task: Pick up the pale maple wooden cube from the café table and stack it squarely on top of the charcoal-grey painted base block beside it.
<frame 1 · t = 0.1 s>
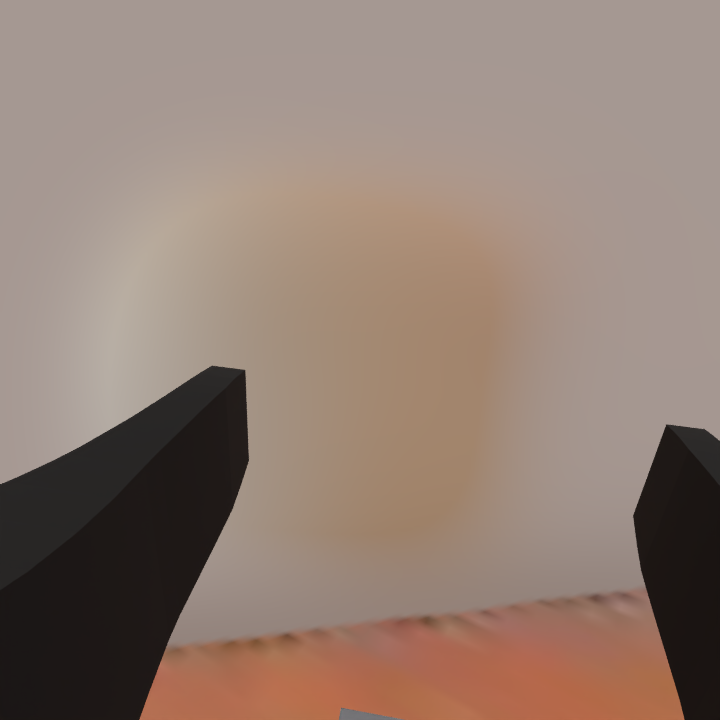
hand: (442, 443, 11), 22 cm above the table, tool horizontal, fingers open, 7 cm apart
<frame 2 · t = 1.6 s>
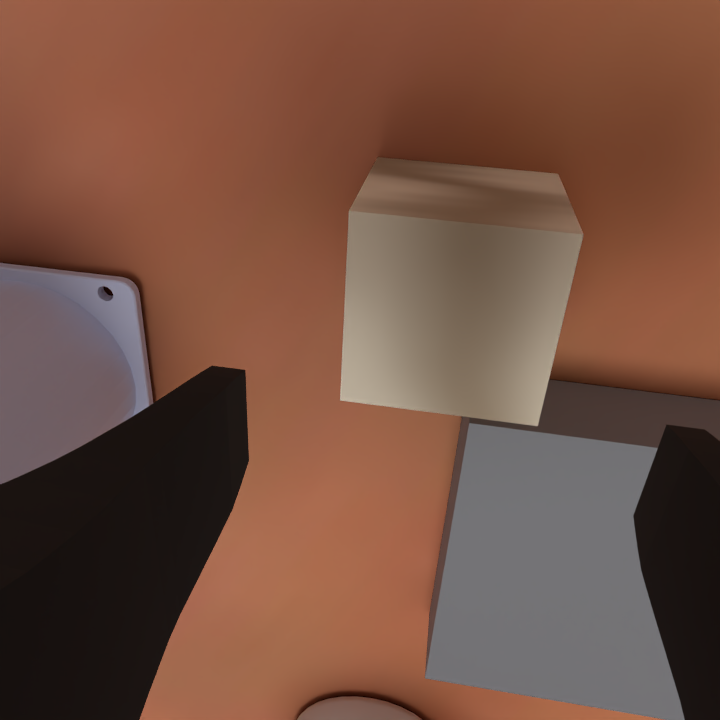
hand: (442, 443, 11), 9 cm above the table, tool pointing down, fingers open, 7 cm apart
maple cube: (455, 249, 20), on the table
grey base: (612, 530, 24), on the table
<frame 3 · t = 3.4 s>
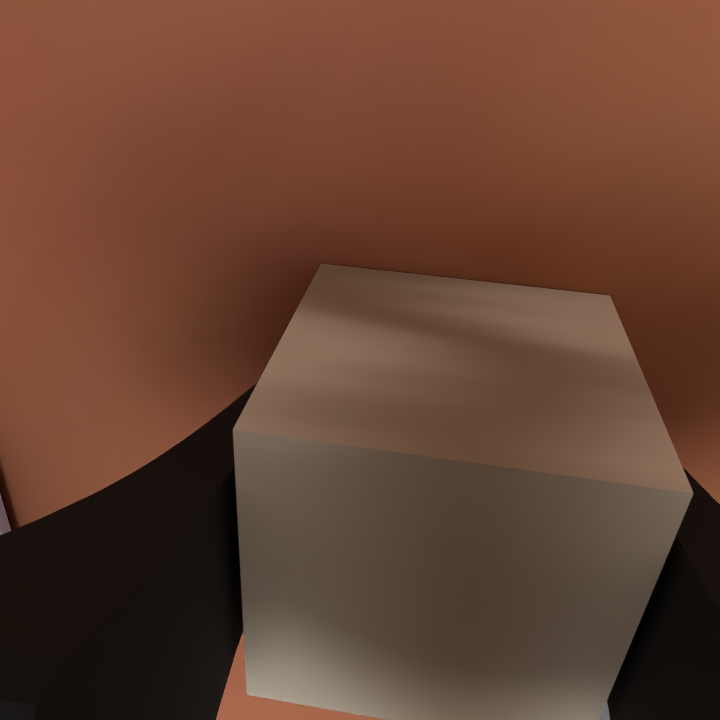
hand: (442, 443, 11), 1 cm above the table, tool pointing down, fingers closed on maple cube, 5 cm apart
maple cube: (444, 398, 13), on the table, touching gripper
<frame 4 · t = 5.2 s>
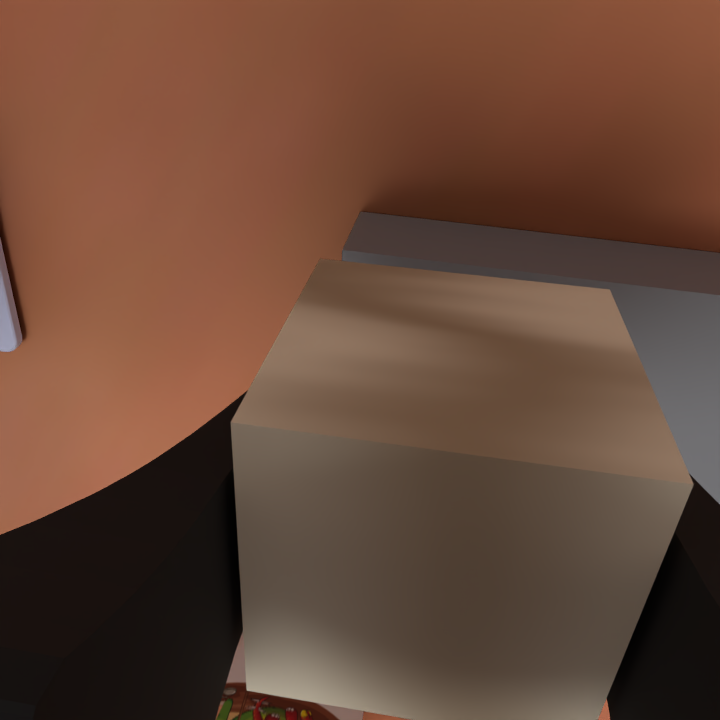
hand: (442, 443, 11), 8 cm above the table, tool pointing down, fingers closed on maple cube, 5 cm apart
maple cube: (444, 393, 13), point 7 cm above the table, touching gripper
milk bottle: (283, 673, 30), on the table
grey base: (533, 416, 21), on the table
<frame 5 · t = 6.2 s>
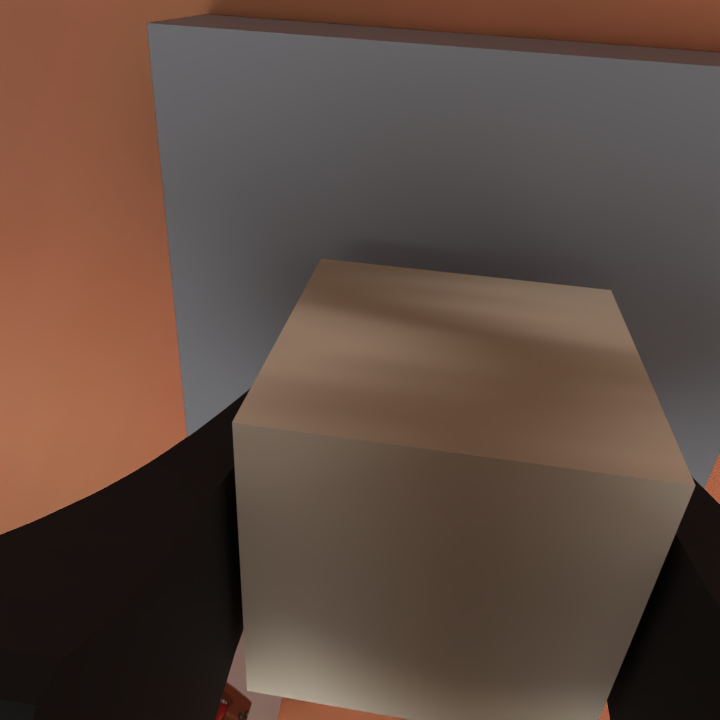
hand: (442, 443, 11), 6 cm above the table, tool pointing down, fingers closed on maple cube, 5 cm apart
maple cube: (445, 394, 13), point 4 cm above the table, touching gripper
milk bottle: (194, 644, 26), on the table
grey base: (451, 300, 17), on the table
when the fingers open (6 cm above the table, at t = 7.1 s): maple cube drops 1 cm, resting on grey base.
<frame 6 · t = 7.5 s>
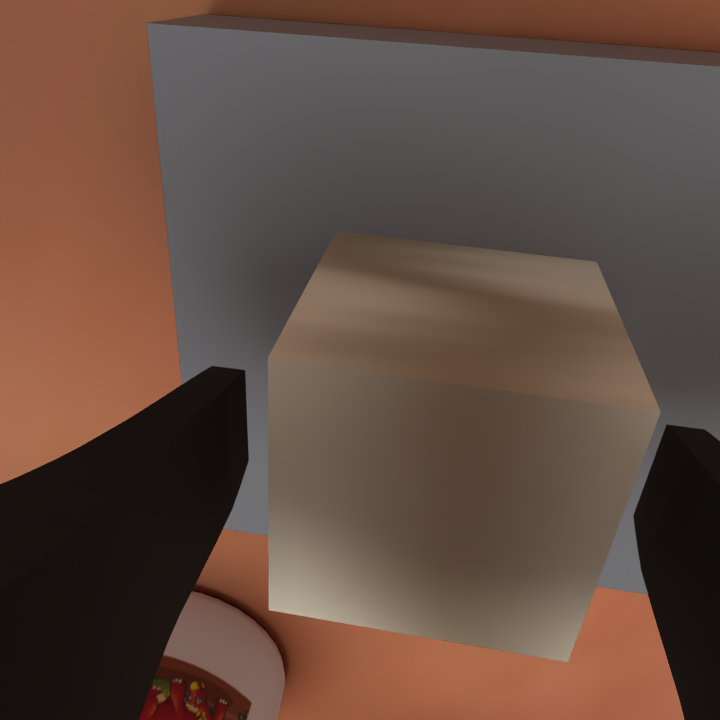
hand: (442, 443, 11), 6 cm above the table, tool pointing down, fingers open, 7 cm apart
maple cube: (446, 357, 14), point 3 cm above the table, touching grey base
milk bottle: (194, 644, 26), on the table
grey base: (451, 300, 17), on the table
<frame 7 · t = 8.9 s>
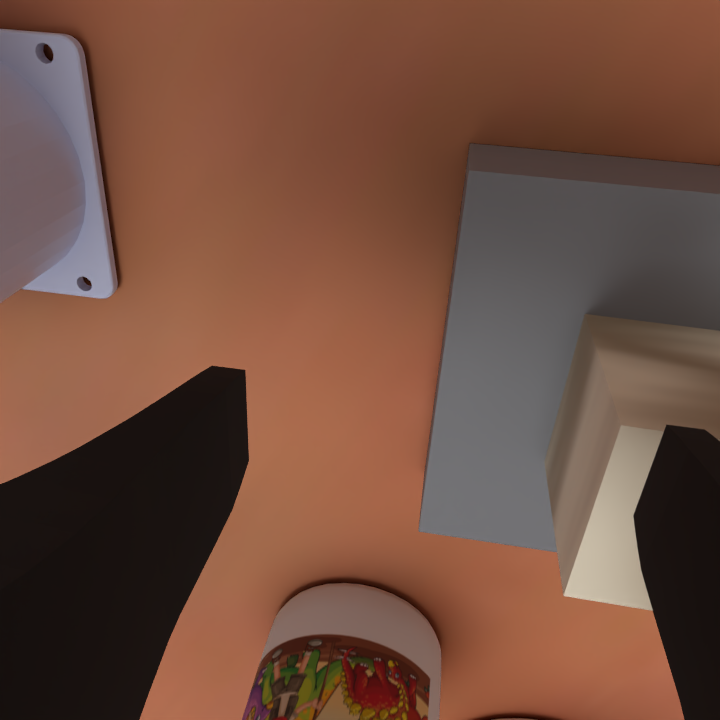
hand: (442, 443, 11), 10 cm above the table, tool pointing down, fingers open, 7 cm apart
maple cube: (654, 405, 18), point 3 cm above the table, touching grey base
milk bottle: (357, 632, 30), on the table
grey base: (633, 354, 21), on the table
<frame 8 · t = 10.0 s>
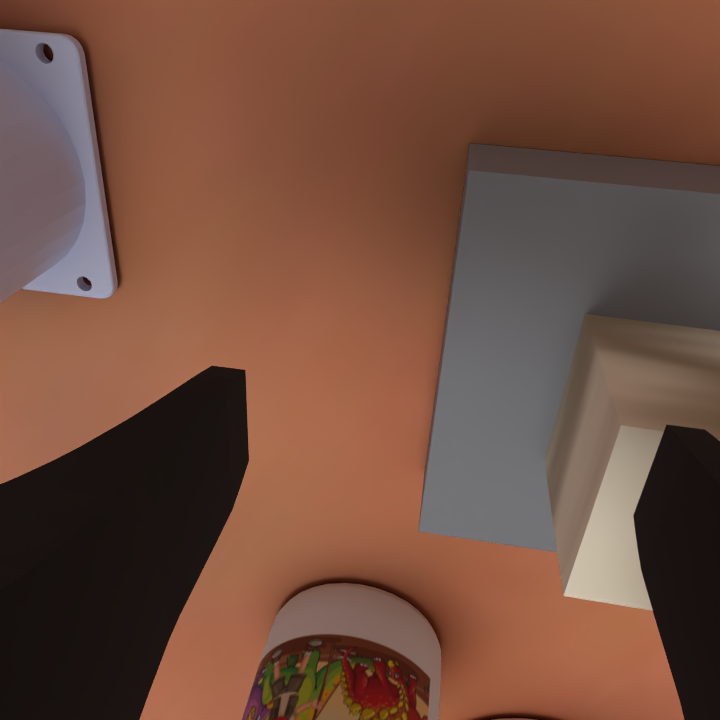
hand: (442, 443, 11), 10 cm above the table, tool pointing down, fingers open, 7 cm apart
maple cube: (654, 405, 18), point 3 cm above the table, touching grey base
milk bottle: (357, 632, 30), on the table
grey base: (633, 354, 21), on the table
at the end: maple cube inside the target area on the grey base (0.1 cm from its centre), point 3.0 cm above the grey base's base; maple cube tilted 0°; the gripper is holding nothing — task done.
